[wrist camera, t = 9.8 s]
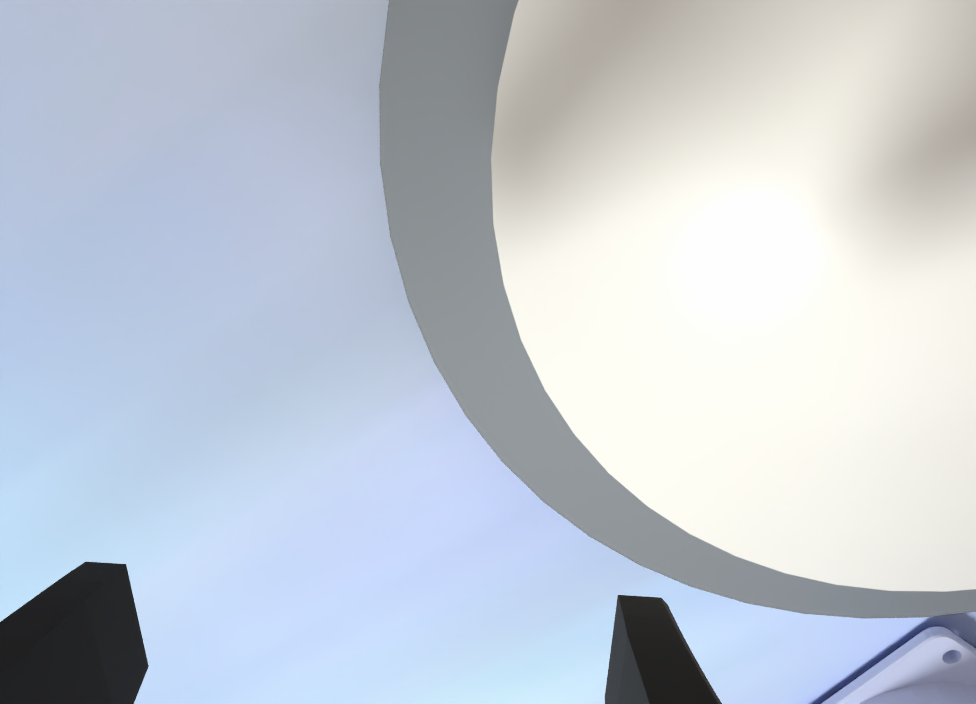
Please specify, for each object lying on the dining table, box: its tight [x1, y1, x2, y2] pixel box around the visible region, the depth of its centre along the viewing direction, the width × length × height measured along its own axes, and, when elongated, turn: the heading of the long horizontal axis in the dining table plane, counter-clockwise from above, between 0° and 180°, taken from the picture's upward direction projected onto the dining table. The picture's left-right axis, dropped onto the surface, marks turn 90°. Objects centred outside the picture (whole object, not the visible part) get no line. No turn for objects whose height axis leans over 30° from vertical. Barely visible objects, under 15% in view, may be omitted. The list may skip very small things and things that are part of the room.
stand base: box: [379, 0, 976, 618], centre depth 16 cm, size 25×25×1 cm
